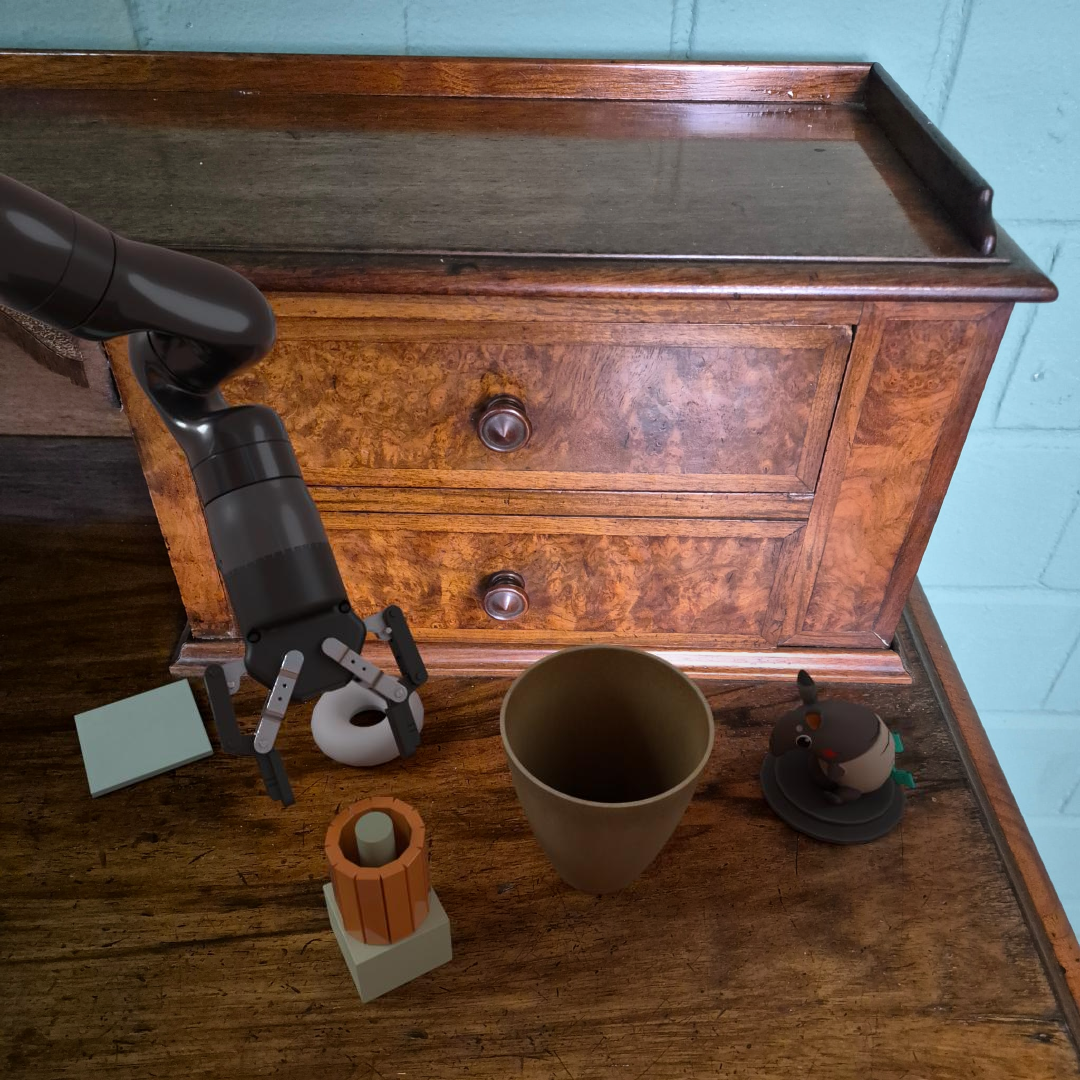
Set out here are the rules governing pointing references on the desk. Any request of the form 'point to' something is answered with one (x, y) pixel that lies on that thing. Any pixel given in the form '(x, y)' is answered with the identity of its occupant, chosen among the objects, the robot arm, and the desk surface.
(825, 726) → the figurine
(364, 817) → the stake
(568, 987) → the desk surface
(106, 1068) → the desk surface
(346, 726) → the donut
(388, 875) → the pen holder
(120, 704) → the mat
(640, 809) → the plant pot
